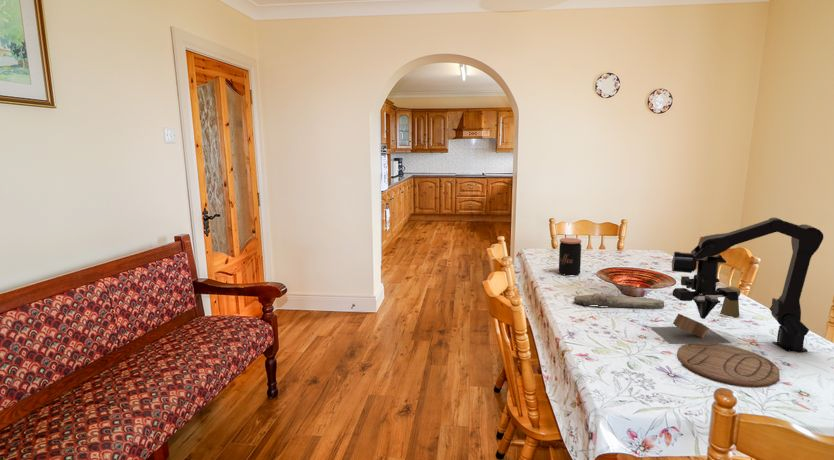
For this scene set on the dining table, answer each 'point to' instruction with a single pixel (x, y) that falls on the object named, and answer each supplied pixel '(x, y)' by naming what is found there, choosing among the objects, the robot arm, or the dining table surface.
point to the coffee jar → (570, 256)
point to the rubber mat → (687, 336)
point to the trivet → (728, 364)
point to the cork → (731, 305)
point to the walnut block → (690, 325)
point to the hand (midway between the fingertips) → (702, 318)
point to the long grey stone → (618, 301)
